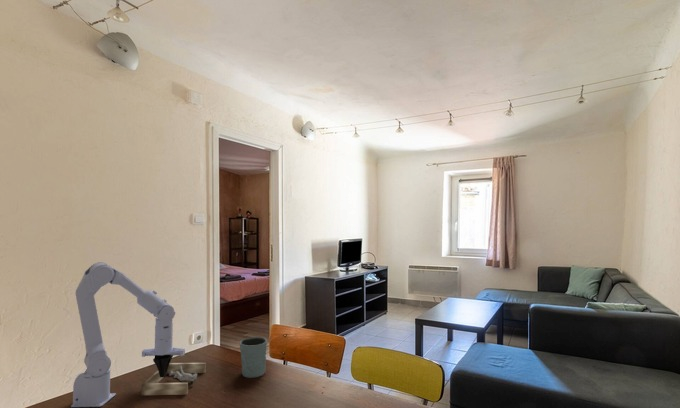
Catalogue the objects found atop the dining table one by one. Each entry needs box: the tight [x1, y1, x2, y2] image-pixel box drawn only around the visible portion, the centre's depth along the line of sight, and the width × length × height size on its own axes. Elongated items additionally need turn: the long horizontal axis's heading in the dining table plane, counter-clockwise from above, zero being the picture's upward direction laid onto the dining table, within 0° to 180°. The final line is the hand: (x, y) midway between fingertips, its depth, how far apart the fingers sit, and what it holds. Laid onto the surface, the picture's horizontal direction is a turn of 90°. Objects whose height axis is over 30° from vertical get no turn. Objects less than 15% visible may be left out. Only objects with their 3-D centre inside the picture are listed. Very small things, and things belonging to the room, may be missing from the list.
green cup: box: [239, 336, 268, 379], centre depth 137 cm, size 10×10×12 cm
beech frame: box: [140, 362, 207, 396], centre depth 129 cm, size 15×18×4 cm
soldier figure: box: [168, 366, 198, 383], centre depth 130 cm, size 8×5×12 cm
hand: (163, 376), depth 129 cm, fingers closed
